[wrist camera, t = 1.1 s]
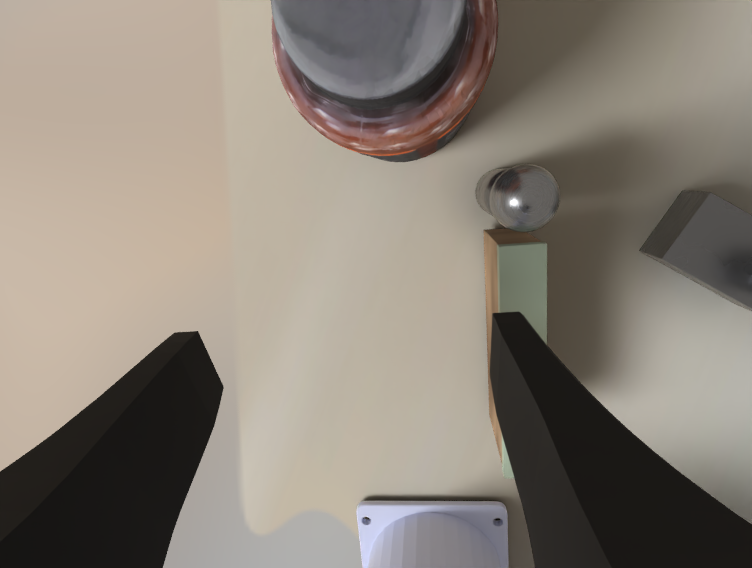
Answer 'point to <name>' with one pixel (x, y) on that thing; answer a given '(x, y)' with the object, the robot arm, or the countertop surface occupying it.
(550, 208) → the hinge pin
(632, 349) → the countertop surface
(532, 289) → the rail
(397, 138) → the supplement bottle
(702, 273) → the latch
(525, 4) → the countertop surface
